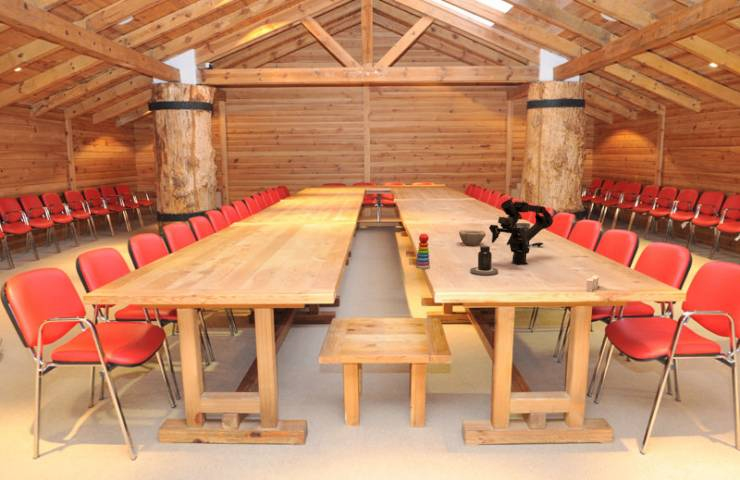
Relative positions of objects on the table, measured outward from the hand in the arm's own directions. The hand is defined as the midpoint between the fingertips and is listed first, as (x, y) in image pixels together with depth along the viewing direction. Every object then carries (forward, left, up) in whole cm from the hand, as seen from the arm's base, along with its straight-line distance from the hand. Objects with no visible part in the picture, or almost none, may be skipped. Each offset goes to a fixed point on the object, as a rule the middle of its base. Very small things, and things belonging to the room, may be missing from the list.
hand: (499, 243), depth 287 cm
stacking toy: (+38, -13, -14) cm, 42 cm away
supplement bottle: (+12, +7, -12) cm, 18 cm away
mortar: (-18, -70, -14) cm, 74 cm away
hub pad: (+12, +7, -13) cm, 19 cm away
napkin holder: (-19, +50, -14) cm, 55 cm away
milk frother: (-51, -55, -14) cm, 76 cm away
